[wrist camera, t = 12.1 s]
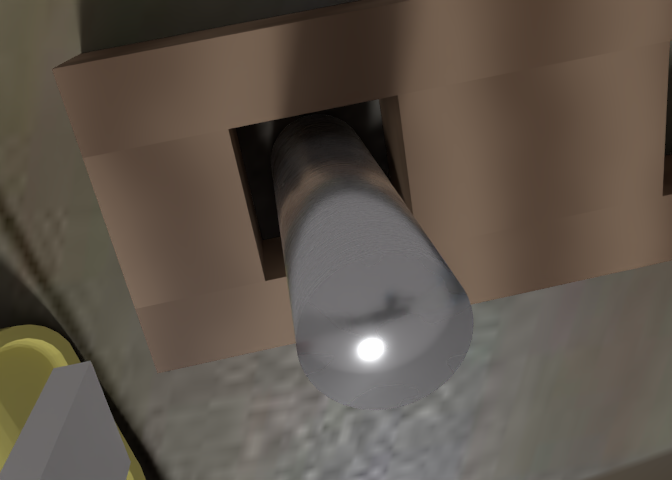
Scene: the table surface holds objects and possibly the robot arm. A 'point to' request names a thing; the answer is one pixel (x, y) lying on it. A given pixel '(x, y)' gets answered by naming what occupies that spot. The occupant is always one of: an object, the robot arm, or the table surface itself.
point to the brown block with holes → (401, 146)
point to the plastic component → (33, 381)
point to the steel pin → (362, 273)
